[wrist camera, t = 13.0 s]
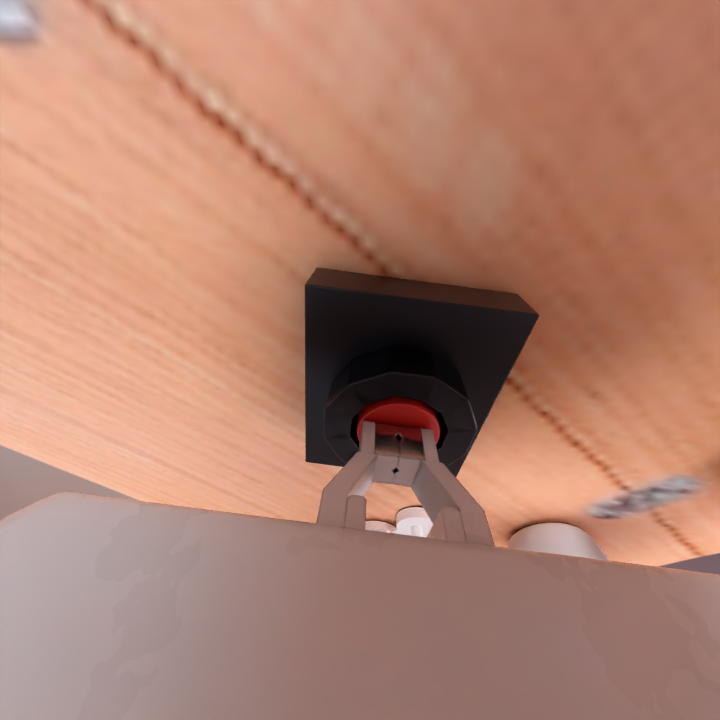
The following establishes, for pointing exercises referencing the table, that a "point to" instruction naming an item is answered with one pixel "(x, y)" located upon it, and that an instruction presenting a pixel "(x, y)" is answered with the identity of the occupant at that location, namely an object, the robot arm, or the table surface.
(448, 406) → the button block
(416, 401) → the release button
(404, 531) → the white lobed flat piece
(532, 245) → the table surface
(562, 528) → the cup
